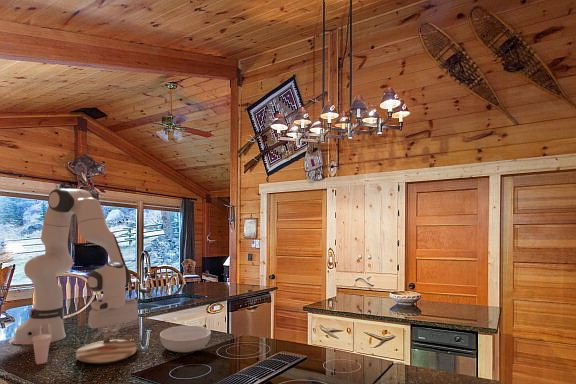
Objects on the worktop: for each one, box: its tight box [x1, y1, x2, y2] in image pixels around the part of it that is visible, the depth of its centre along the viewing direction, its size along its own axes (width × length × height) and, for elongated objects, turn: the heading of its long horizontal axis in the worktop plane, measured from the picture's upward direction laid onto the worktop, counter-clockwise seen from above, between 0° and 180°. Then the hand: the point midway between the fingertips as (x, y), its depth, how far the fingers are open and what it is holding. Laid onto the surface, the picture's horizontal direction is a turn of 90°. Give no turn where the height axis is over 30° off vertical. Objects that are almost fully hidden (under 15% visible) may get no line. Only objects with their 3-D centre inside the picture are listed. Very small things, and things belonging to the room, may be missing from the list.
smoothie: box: [32, 325, 51, 365], centre depth 164 cm, size 6×6×14 cm
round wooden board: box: [75, 330, 138, 364], centre depth 169 cm, size 22×22×6 cm
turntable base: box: [85, 358, 127, 366], centre depth 169 cm, size 16×16×2 cm
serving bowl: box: [159, 325, 212, 353], centre depth 180 cm, size 21×21×7 cm
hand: (113, 334), depth 180 cm, fingers closed
